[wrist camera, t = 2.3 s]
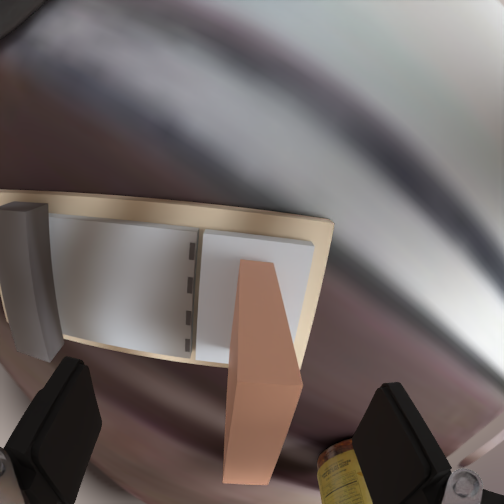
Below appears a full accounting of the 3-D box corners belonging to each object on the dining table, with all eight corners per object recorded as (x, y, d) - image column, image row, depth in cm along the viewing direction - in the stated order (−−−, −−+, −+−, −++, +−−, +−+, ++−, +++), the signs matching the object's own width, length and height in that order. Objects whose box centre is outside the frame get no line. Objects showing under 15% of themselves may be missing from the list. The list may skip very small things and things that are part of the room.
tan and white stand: (311, 241, 15) (384, 352, 6) (285, 359, 17) (310, 494, 9) (205, 228, 14) (158, 335, 6) (197, 351, 17) (171, 488, 8)
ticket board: (329, 218, 15) (353, 240, 12) (296, 362, 18) (306, 405, 15) (-2, 189, 14) (-42, 201, 11) (14, 315, 17) (-15, 342, 13)
